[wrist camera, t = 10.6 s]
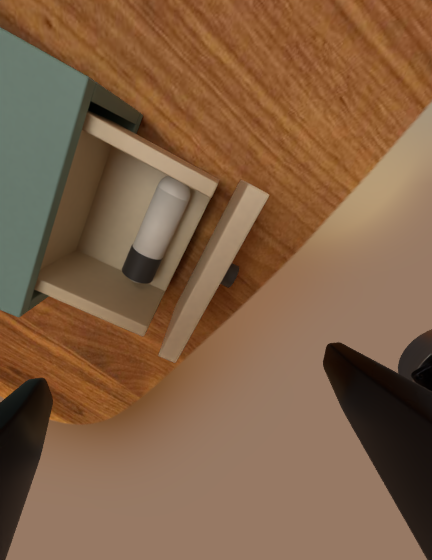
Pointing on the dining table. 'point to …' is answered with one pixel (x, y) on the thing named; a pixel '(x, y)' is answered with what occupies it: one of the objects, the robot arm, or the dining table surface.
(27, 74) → the cabinet
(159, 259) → the marker
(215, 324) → the dining table surface
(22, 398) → the robot arm
